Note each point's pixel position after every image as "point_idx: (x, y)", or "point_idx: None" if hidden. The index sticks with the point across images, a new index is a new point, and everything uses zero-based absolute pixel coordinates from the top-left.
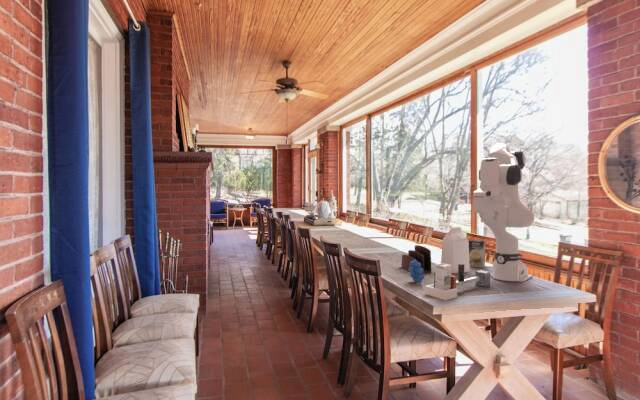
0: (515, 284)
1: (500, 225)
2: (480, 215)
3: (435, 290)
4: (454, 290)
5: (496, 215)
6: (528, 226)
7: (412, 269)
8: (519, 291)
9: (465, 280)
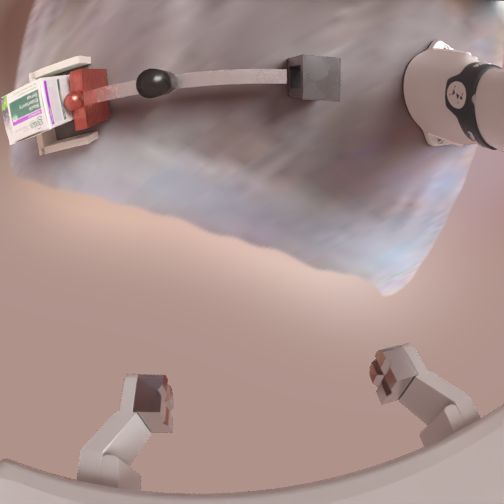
0: (392, 142)
1: None
2: (95, 449)
3: None
4: (77, 145)
5: (417, 404)
6: None
7: None
8: (326, 192)
9: (184, 87)
